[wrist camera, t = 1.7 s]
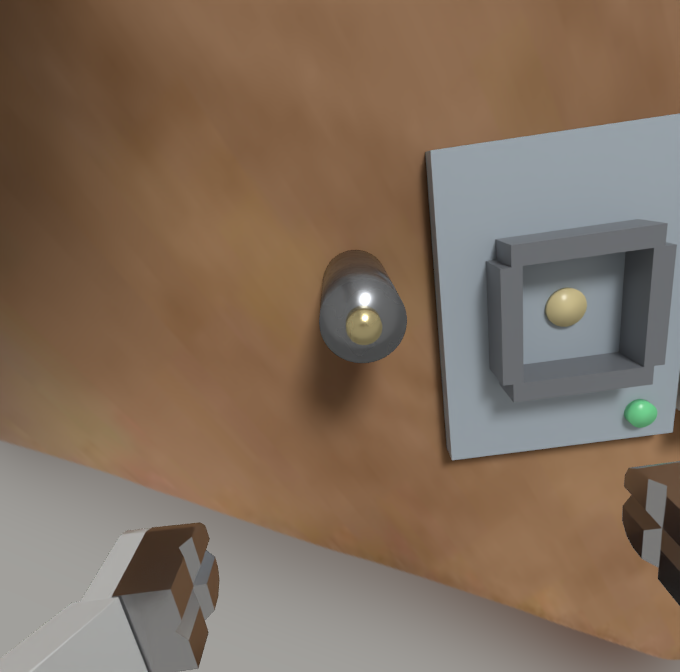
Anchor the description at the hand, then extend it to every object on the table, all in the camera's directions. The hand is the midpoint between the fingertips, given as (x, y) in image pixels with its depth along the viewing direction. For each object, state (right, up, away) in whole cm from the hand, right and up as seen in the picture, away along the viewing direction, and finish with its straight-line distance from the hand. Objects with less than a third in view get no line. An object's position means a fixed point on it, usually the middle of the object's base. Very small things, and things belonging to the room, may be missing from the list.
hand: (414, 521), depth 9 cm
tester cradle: (+12, +6, +21) cm, 25 cm away
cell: (0, +7, +20) cm, 21 cm away
